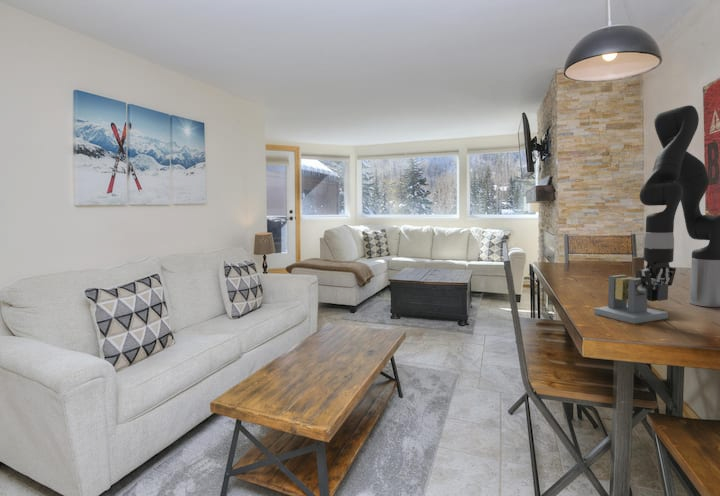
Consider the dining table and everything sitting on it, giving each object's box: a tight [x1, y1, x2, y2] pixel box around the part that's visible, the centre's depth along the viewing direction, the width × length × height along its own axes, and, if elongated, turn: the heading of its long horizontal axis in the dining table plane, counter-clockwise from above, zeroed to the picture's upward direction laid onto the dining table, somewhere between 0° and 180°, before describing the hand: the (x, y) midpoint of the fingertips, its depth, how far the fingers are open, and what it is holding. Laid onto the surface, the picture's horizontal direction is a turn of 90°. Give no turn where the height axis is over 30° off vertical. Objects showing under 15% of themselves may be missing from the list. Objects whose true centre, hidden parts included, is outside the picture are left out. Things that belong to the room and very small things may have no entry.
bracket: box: [593, 274, 669, 325], centre depth 134 cm, size 16×14×13 cm
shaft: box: [626, 282, 669, 302], centre depth 132 cm, size 4×17×5 cm, turn 20°
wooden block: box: [631, 256, 645, 294], centre depth 147 cm, size 4×11×18 cm, turn 153°
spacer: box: [615, 276, 637, 300], centre depth 135 cm, size 7×2×7 cm, turn 110°
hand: (656, 299), depth 126 cm, fingers closed on shaft, 4 cm apart
